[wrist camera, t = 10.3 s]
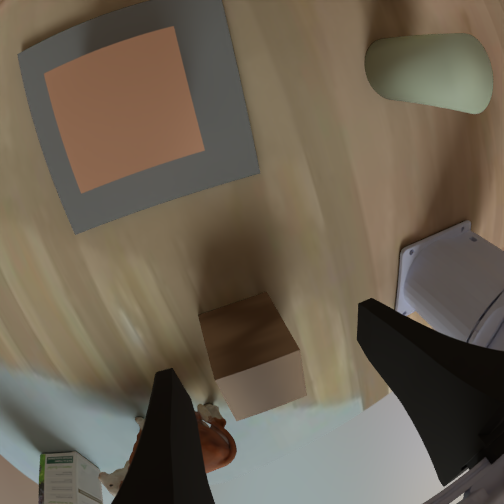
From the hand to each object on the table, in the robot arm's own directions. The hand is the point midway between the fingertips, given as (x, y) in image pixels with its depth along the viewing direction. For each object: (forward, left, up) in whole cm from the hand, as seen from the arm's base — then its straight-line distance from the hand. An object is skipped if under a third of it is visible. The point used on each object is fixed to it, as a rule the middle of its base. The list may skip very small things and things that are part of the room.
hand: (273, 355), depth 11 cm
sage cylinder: (-14, -9, -10) cm, 19 cm away
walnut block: (0, +7, -10) cm, 12 cm away
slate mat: (+2, -9, -10) cm, 14 cm away
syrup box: (+25, +21, -10) cm, 35 cm away
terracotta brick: (+2, -9, -9) cm, 13 cm away
